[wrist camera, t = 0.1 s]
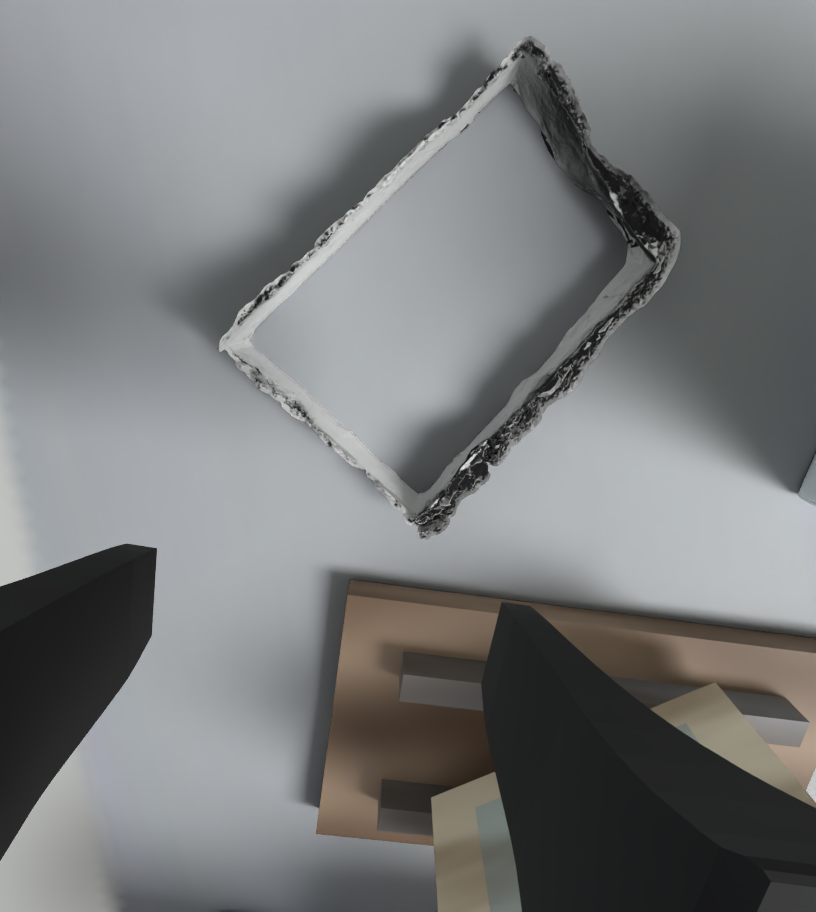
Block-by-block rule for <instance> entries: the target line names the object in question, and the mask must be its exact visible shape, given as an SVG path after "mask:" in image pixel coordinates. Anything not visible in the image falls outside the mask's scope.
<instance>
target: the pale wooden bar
mask: <svg viewBox="0 0 816 912" xmlns="http://www.w3.org/2000/svg"><path fill="white" fill-rule="evenodd" d="M650 710H652V711H653V712H655V713H656V714H658V715H659V716H660V717H662V718H663V719H665V720H666V721H667V722H669V723H670V724H672V725H673V726H675V727H676V728H677V729H679V730H680V731H682V732H683V733H685V734H686V735H688V736H689V737H691V738H692V739H694V740H695V741H697V742H698V743H700V744H702V745H703V746H705V747H706V748H708V749H710V750H711V751H713V752H715V753H716V754H718V755H720V756H721V757H723V758H725V759H726V760H728V761H730V762H731V763H733V764H735V765H736V766H738V767H740V768H741V769H743V770H745V771H747V772H748V773H750V774H752V775H754V776H756V777H757V778H759V779H761V780H763V781H765V782H766V783H768V784H770V785H772V786H774V787H776V788H778V789H780V790H782V791H784V792H785V793H787V794H789V795H791V796H793V797H795V798H797V799H799V800H801V801H803V802H805V803H807V804H809V805H811V806H813V807H815V808H816V803H815V801H814V800H813V799H812V798H811V797H810V795H809V794H808V793H807V792H806V791H805V789H804V788H803V787H802V786H801V785H800V783H799V782H798V781H797V780H796V779H795V777H794V776H793V775H792V774H791V773H790V771H789V770H788V769H787V768H786V767H785V765H784V764H783V763H782V762H781V761H780V759H779V758H778V757H777V756H776V754H775V753H774V752H773V751H772V750H771V748H770V747H769V746H768V745H767V744H766V742H765V741H764V740H763V739H762V738H761V736H760V735H759V734H758V733H757V732H756V730H755V729H754V728H753V727H752V726H751V724H750V723H749V722H748V721H747V720H746V718H745V717H744V716H743V715H742V714H741V712H740V711H739V710H738V709H737V708H736V706H735V705H734V704H733V703H732V702H731V700H730V699H729V698H728V697H727V696H726V694H725V693H724V692H723V691H722V689H721V688H720V687H719V686H718V685H717V683H716V682H715V683H712V684H710V685H707V686H705V687H702V688H700V689H697V690H695V691H692V692H690V693H687V694H685V695H683V696H680V697H678V698H675V699H673V700H670V701H668V702H665V703H663V704H660V705H658V706H655V707H653V708H651V709H650ZM431 805H432V822H433V838H434V854H435V871H436V887H437V904H438V912H522V908H521V901H520V893H519V886H518V878H517V871H516V864H515V859H514V854H513V848H512V843H511V838H510V834H509V830H508V825H507V821H506V817H505V812H504V808H503V804H502V799H501V795H500V791H499V787H498V782H497V778H496V774H495V772H493V773H490V774H488V775H485V776H483V777H481V778H478V779H476V780H473V781H471V782H468V783H466V784H463V785H461V786H458V787H456V788H453V789H451V790H448V791H446V792H444V793H441V794H439V795H436V796H434V797H431Z"/></svg>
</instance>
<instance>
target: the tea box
mask: <svg viewBox="0 0 816 912" xmlns="http://www.w3.org/2000/svg"><path fill="white" fill-rule="evenodd" d="M798 496H799V497H800V498H801V499H803V500H805V501H807V502H808V503H810V504H812V505H814V506H816V454H815V457H814V459H813V461H812V463H811V465H810V467H809V470H808V472H807V474H806V476H805V478H804V481H803V483H802V486H801V488H800V491H799V493H798Z"/></svg>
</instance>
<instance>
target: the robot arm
mask: <svg viewBox="0 0 816 912" xmlns="http://www.w3.org/2000/svg"><path fill="white" fill-rule="evenodd" d="M156 555H157V548H151V547H145V546H138V545H132V544H123V545H119V546H116V547H112V548H109V549H106V550H103V551H100V552H97V553H94V554H92V555H89V556H86V557H83V558H81V559H78V560H75V561H72V562H70V563H67V564H64V565H61V566H59V567H56V568H53V569H50V570H48V571H45V572H42V573H39V574H37V575H34V576H31V577H28V578H25V579H22V580H19V581H16V582H13V583H10V584H7V585H4V586H1V587H0V860H1V859H2V857H3V856H4V854H5V852H6V851H7V849H8V848H9V846H10V844H11V843H12V841H13V839H14V838H15V836H16V835H17V833H18V831H19V830H20V828H21V826H22V824H23V823H24V821H25V820H26V818H27V817H28V815H29V813H30V812H31V810H32V809H33V807H34V805H35V804H36V802H37V801H38V800H39V798H40V797H41V795H42V794H43V792H44V791H45V789H46V788H47V787H48V785H49V784H50V782H51V781H52V779H53V778H54V777H55V775H56V774H57V773H58V771H59V770H60V769H61V767H62V766H63V765H64V763H65V762H66V761H67V759H68V758H69V757H70V755H71V754H72V753H73V752H74V750H75V749H76V748H77V746H78V745H79V744H80V742H81V741H82V740H83V738H84V737H85V736H86V734H87V733H88V732H89V730H90V729H91V728H92V726H93V725H94V724H95V722H96V721H97V720H98V718H99V717H100V716H101V714H102V713H103V712H104V710H105V709H106V708H107V706H108V705H109V703H110V702H111V701H112V699H113V698H114V697H115V695H116V694H117V693H118V691H119V690H120V689H121V687H122V686H123V684H124V683H125V682H126V680H127V679H128V677H129V675H130V674H131V672H132V670H133V669H134V667H135V665H136V663H137V662H138V660H139V658H140V656H141V654H142V652H143V651H144V649H145V647H146V645H147V643H148V641H149V639H150V638H151V636H152V620H153V604H154V588H155V571H156ZM481 688H482V700H483V711H484V720H485V729H486V734H487V738H488V743H489V747H490V752H491V756H492V761H493V765H494V770H495V774H496V778H497V782H498V787H499V791H500V795H501V799H502V804H503V808H504V812H505V817H506V821H507V825H508V830H509V834H510V838H511V843H512V848H513V854H514V859H515V864H516V871H517V878H518V886H519V893H520V901H521V908H522V912H816V808H815V807H813V806H811V805H809V804H807V803H805V802H803V801H801V800H799V799H797V798H795V797H793V796H791V795H789V794H787V793H785V792H784V791H782V790H780V789H778V788H776V787H774V786H772V785H770V784H768V783H766V782H765V781H763V780H761V779H759V778H757V777H756V776H754V775H752V774H750V773H748V772H747V771H745V770H743V769H741V768H740V767H738V766H736V765H735V764H733V763H731V762H730V761H728V760H726V759H725V758H723V757H721V756H720V755H718V754H716V753H715V752H713V751H711V750H710V749H708V748H706V747H705V746H703V745H702V744H700V743H698V742H697V741H695V740H694V739H692V738H691V737H689V736H688V735H686V734H685V733H683V732H682V731H680V730H679V729H677V728H676V727H675V726H673V725H672V724H670V723H669V722H667V721H666V720H665V719H663V718H662V717H660V716H659V715H658V714H656V713H655V712H653V711H652V710H650V709H649V708H648V707H646V706H645V705H644V704H642V703H641V702H640V701H639V700H637V699H636V698H635V697H633V696H632V695H631V694H630V693H628V692H627V691H626V690H625V689H624V688H622V687H621V686H620V685H619V684H617V683H616V682H615V681H614V680H613V679H611V678H610V677H609V676H608V675H607V674H605V673H604V672H603V671H602V670H601V669H600V668H599V667H597V666H596V665H595V664H594V663H593V662H592V661H591V660H589V659H588V658H587V657H586V656H585V655H584V654H583V653H582V652H581V651H580V650H578V649H577V648H576V647H575V646H574V645H573V644H572V643H571V642H570V641H569V640H568V639H567V638H566V637H564V636H563V635H562V634H561V633H560V632H559V631H558V630H557V629H556V628H555V627H554V626H553V625H552V624H551V623H549V622H548V621H547V620H546V619H545V618H544V617H543V616H542V615H541V614H539V613H538V612H537V611H536V610H535V609H533V608H532V607H531V606H527V605H521V604H514V603H508V602H501V606H500V610H499V614H498V618H497V622H496V626H495V630H494V634H493V638H492V642H491V646H490V650H489V654H488V658H487V662H486V666H485V670H484V674H483V678H482V682H481Z"/></svg>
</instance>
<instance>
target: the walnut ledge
mask: <svg viewBox="0 0 816 912" xmlns="http://www.w3.org/2000/svg"><path fill="white" fill-rule="evenodd" d="M501 602H508V603H514V604H521V605H527V606H531V607H532V608H533V609H535V610H536V611H537V612H538V613H539V614H541V615H542V616H543V617H544V618H545V619H546V620H547V621H548V622H549V623H551V624H552V625H553V626H554V627H555V628H556V629H557V630H558V631H559V632H560V633H561V634H562V635H563V636H564V637H566V638H567V639H568V640H569V641H570V642H571V643H572V644H573V645H574V646H575V647H576V648H577V649H578V650H580V651H581V652H582V653H583V654H584V655H585V656H586V657H587V658H588V659H589V660H591V661H592V662H593V663H594V664H595V665H596V666H597V667H599V668H600V669H601V670H602V671H603V672H604V673H605V674H607V675H608V676H609V677H610V678H611V679H613V680H614V681H615V682H616V683H617V684H619V685H620V686H621V687H622V688H624V689H625V690H626V691H627V692H628V693H630V694H631V695H632V696H633V697H635V698H636V699H637V700H639V701H640V702H641V703H642V704H644V705H645V706H646V707H648V708H649V709H651V708H653V707H655V706H658V705H660V704H663V703H665V702H668V701H670V700H673V699H675V698H678V697H680V696H683V695H685V694H687V693H690V692H692V691H695V690H697V689H700V688H702V687H705V686H707V685H710V684H712V683H715V682H716V683H717V685H718V686H719V687H720V688H721V689H722V691H723V692H724V693H725V694H726V696H727V697H728V698H729V699H730V700H731V702H732V703H733V704H734V705H735V706H736V708H737V709H738V710H739V711H740V712H741V714H742V715H743V716H744V717H745V718H746V720H747V721H748V722H749V723H750V724H751V726H752V727H753V728H754V729H755V730H756V732H757V733H758V734H759V735H760V736H761V738H762V739H763V740H764V741H765V742H766V744H767V745H768V746H769V747H770V748H771V750H772V751H773V752H774V753H775V754H776V756H777V757H778V758H779V759H780V761H781V762H782V763H783V764H784V765H785V767H786V768H787V769H788V770H789V771H790V773H791V774H792V775H793V776H794V777H795V779H796V780H797V781H798V782H799V783H800V785H801V786H802V787H803V788H804V789H805V791H806V789H807V786H808V784H809V782H810V779H811V777H812V775H813V772H814V770H815V768H816V639H815V638H807V637H799V636H792V635H784V634H776V633H768V632H760V631H752V630H744V629H736V628H728V627H720V626H713V625H705V624H697V623H689V622H681V621H673V620H665V619H657V618H649V617H641V616H634V615H626V614H618V613H610V612H602V611H594V610H586V609H578V608H570V607H562V606H555V605H547V604H539V603H531V602H523V601H515V600H507V599H499V598H491V597H483V596H476V595H468V594H460V593H452V592H444V591H436V590H428V589H420V588H412V587H404V586H397V585H389V584H381V583H373V582H365V581H357V580H350V584H349V589H348V595H347V602H346V610H345V618H344V625H343V633H342V640H341V648H340V656H339V663H338V671H337V678H336V686H335V694H334V701H333V709H332V716H331V724H330V731H329V739H328V747H327V754H326V762H325V769H324V777H323V785H322V792H321V800H320V807H319V815H318V822H317V830H316V834H323V835H333V836H343V837H353V838H362V839H372V840H382V841H392V842H402V843H411V844H421V845H431V846H434V838H433V822H432V805H431V797H434V796H436V795H439V794H441V793H444V792H446V791H448V790H451V789H453V788H456V787H458V786H461V785H463V784H466V783H468V782H471V781H473V780H476V779H478V778H481V777H483V776H485V775H488V774H490V773H493V772H495V770H494V765H493V761H492V756H491V752H490V747H489V743H488V738H487V734H486V729H485V720H484V711H483V700H482V688H481V682H482V678H483V674H484V670H485V666H486V662H487V658H488V654H489V650H490V646H491V642H492V638H493V634H494V630H495V626H496V622H497V618H498V614H499V610H500V606H501Z"/></svg>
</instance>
